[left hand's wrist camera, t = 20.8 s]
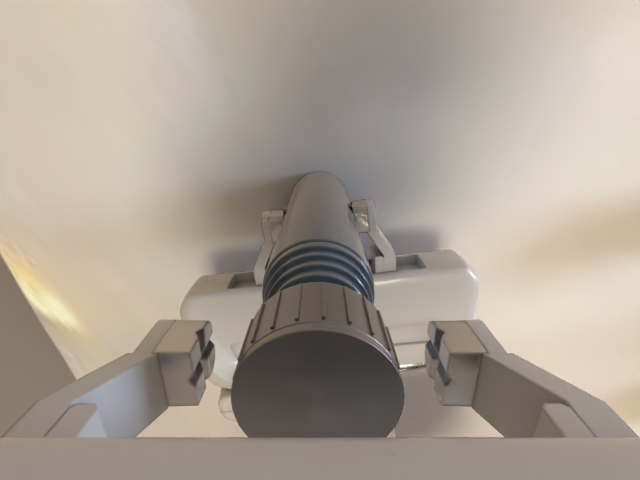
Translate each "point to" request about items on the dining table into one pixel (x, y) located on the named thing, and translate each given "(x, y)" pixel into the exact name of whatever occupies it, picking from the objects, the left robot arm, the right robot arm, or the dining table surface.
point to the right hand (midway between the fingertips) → (316, 206)
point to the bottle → (318, 241)
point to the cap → (317, 367)
